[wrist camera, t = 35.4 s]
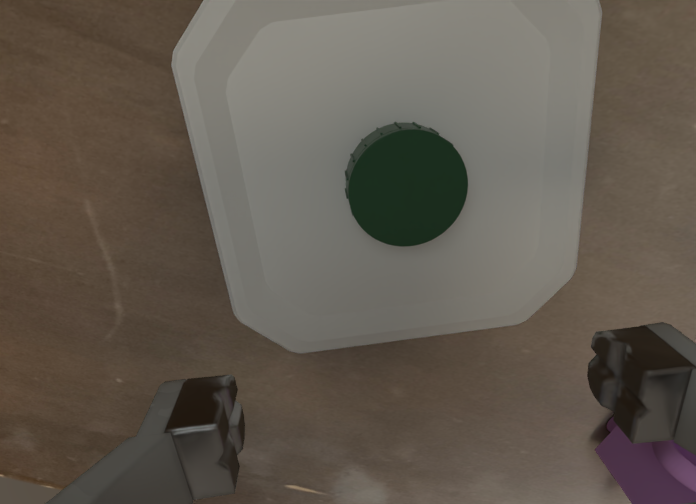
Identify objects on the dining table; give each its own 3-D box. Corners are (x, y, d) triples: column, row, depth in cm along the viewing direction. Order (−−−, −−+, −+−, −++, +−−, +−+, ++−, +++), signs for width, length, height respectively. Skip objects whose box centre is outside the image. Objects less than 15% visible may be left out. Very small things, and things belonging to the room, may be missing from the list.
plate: (249, 343, 30) (244, 364, 28) (163, -14, 22) (147, -21, 20) (556, 302, 30) (574, 320, 28) (587, -66, 22) (615, -77, 20)
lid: (366, 105, 23) (371, 110, 20) (474, 142, 24) (489, 151, 22) (329, 214, 25) (331, 229, 23) (430, 244, 26) (440, 261, 24)
